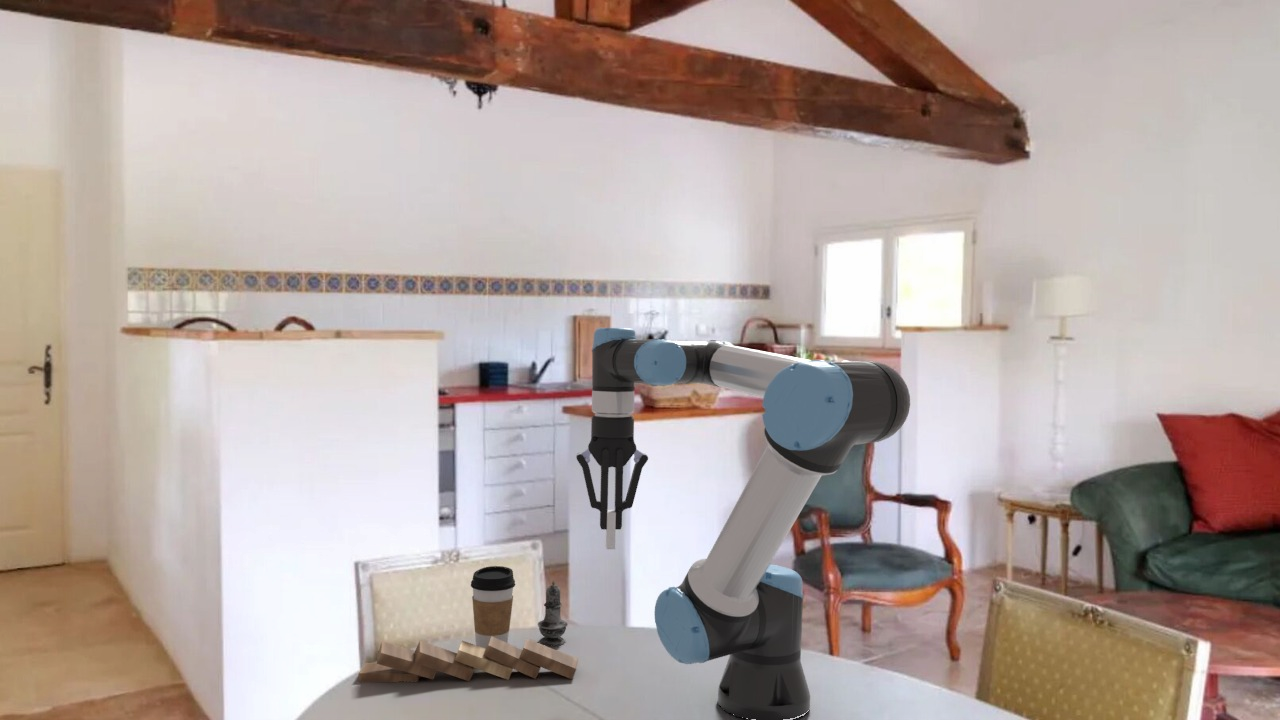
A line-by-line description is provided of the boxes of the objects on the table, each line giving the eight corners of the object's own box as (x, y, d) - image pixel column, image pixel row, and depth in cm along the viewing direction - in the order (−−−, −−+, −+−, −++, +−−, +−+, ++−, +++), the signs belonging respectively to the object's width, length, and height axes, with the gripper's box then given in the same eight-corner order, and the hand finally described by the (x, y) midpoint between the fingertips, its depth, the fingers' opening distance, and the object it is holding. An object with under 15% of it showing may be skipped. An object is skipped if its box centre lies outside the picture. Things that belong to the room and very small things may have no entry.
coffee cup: (520, 644, 182) (522, 567, 182) (502, 659, 174) (504, 578, 174) (481, 639, 184) (482, 563, 184) (461, 653, 176) (463, 574, 176)
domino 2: (436, 656, 167) (382, 641, 164) (437, 668, 162) (381, 652, 159) (432, 667, 167) (377, 651, 164) (433, 679, 162) (376, 663, 159)
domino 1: (422, 663, 167) (365, 662, 166) (417, 673, 162) (358, 673, 161) (422, 674, 167) (365, 674, 166) (417, 685, 162) (358, 684, 161)
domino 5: (578, 659, 170) (527, 638, 170) (576, 669, 165) (523, 647, 165) (574, 669, 170) (522, 648, 170) (572, 679, 165) (519, 658, 165)
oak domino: (514, 659, 169) (462, 640, 168) (512, 669, 164) (458, 649, 163) (510, 669, 169) (458, 650, 168) (508, 679, 164) (454, 660, 163)
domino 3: (472, 658, 168) (419, 640, 165) (474, 670, 163) (419, 651, 160) (467, 669, 168) (415, 650, 165) (469, 681, 163) (415, 662, 160)
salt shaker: (569, 637, 187) (570, 578, 187) (564, 647, 181) (565, 585, 181) (540, 636, 188) (541, 576, 187) (534, 645, 182) (535, 584, 181)
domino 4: (542, 658, 169) (491, 636, 169) (540, 668, 164) (488, 645, 164) (537, 669, 169) (486, 646, 169) (535, 679, 164) (483, 655, 164)
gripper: (647, 413, 171) (645, 542, 171) (575, 412, 169) (573, 542, 170) (651, 417, 163) (649, 552, 164) (576, 416, 162) (574, 552, 163)
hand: (610, 547), depth 167 cm, fingers closed
